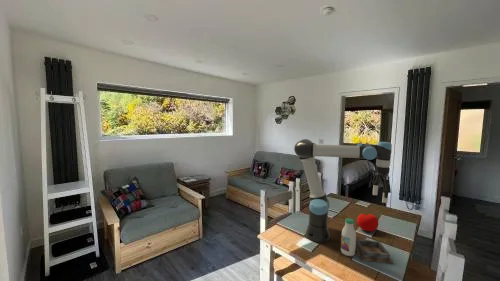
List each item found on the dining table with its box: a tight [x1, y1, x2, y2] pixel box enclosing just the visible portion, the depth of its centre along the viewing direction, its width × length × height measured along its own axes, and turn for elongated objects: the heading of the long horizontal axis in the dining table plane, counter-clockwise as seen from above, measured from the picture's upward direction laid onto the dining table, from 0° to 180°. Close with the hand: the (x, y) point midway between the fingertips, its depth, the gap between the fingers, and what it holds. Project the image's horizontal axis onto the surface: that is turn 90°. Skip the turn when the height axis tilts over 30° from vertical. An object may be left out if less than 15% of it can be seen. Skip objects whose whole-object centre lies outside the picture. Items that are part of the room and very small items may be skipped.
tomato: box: [356, 212, 379, 232], centre depth 152 cm, size 12×14×11 cm
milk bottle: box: [340, 217, 357, 257], centre depth 125 cm, size 8×8×20 cm
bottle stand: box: [355, 238, 394, 264], centre depth 125 cm, size 16×16×4 cm
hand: (379, 198), depth 139 cm, fingers open, 13 cm apart
